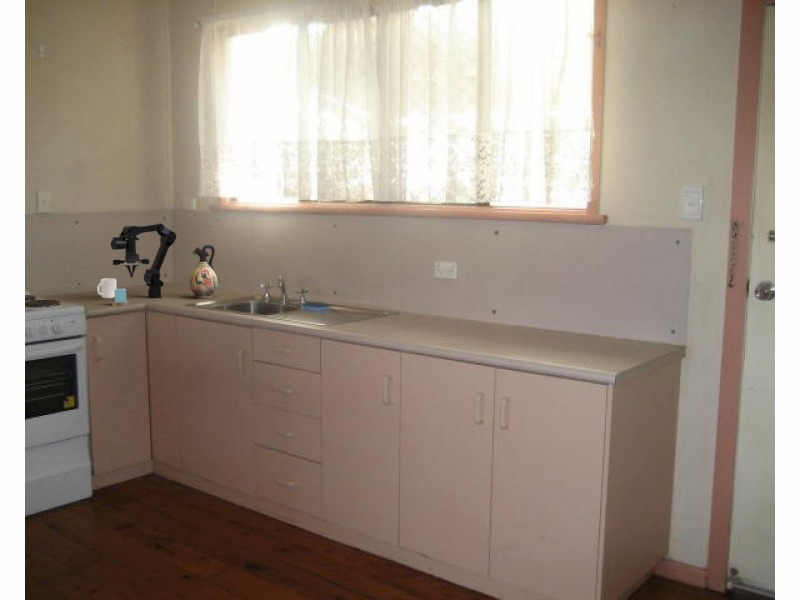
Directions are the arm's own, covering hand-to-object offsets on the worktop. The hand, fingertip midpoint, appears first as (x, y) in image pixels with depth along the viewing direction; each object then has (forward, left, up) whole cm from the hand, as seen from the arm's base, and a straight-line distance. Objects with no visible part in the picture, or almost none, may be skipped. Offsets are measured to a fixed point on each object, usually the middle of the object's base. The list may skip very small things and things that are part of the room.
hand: (131, 277), depth 436 cm
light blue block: (+6, +16, -11) cm, 20 cm away
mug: (+14, -14, -13) cm, 24 cm away
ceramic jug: (-39, +2, -13) cm, 41 cm away
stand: (+6, +16, -12) cm, 21 cm away
